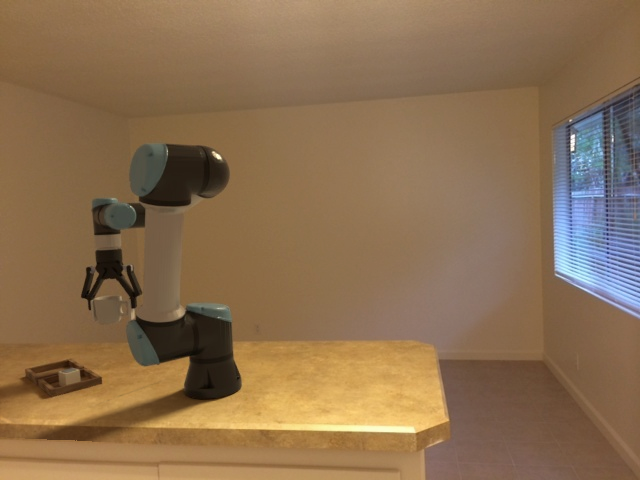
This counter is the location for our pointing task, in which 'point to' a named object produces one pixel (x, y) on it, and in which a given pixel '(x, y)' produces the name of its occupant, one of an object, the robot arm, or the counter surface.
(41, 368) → the tray
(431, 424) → the counter surface
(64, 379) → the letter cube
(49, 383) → the tray
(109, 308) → the cup
